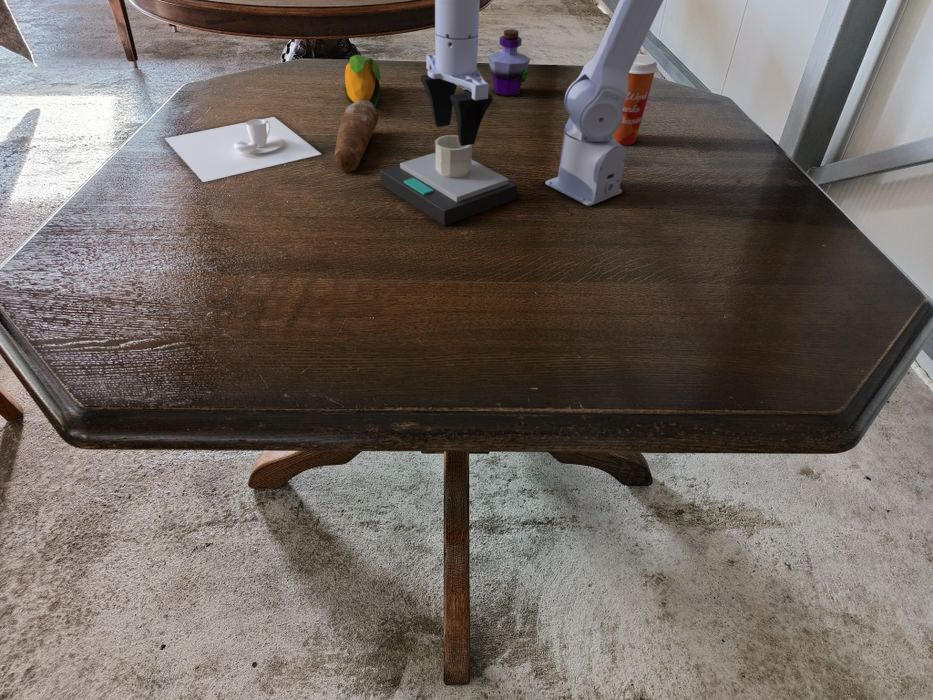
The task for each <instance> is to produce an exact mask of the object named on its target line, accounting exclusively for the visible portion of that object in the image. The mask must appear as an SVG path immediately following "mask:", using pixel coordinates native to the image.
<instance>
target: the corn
mask: <svg viewBox="0 0 933 700" xmlns="http://www.w3.org/2000/svg"><path fill="white" fill-rule="evenodd" d="M366 58H367V57H366V56H365V55H361V54H354V55H352V56H350V57H349V62H348V63H347V64H346V66H345V70H344V83H345V84H344V93H345V97H346V99H347V101H348V102H349V103H350V105H351V104H353V103H355V102H357V101H358V100H365V101H370V102H371V103H372V104H373V105H374V108H375V109H376V108H377V104H378V101H379V99H380V95H381V86H380V80H381V78H382V77H381V71H380V66H379V64H378V63H376V61H375V60H374V58H372V57H369V58H367V59H366Z"/></svg>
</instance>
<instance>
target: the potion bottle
mask: <svg viewBox="0 0 933 700" xmlns="http://www.w3.org/2000/svg"><path fill="white" fill-rule="evenodd" d="M519 35H520V34H519V30H517V29H512V28H511V29H504V30H503V35H502V36H500V37H499V45H500V46H501V47H502V51H498V52H497V51H496V52H493V53H492V54H490V55H488V56H487V57H488V65H489V70H490V74H491V77H492V83H493V93H494V94H495V95H497V96H501V97H506V98H508V97H517V96H518V95H519V94H520V93H521V92H520V91H521V87H522V84H523V83H525V81H526V80H527V77H528V73H529V71H528V69H529V64H530V62H531V58H530V57H528V56H527V55H526V54H524V53H520V52H518V48H519V47H521V46H522V39H523V38H521V37H520V36H519Z"/></svg>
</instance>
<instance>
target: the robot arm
mask: <svg viewBox="0 0 933 700" xmlns="http://www.w3.org/2000/svg"><path fill="white" fill-rule="evenodd" d="M663 2H664V0H618V2H617V5H616V7H615V9H614V12H613V14H612V16H611V19H610V21H609V23H608V26H607V28H606V29H605V32H604V35H603V36H602V39H601V42H600V43H599V46H598V48H597V50H596V52H595V55H594V57H593V58H592V59H591V60H590V61H588V62H587V63H586V64H585V65H584V66H583V67H582V70H581V72H580V74H579V76H578V77H577V78H576V79H575V80H574V81H573V82H572V83H571V84H570V85H569V86H568V88H567V89H566V92H565V95H564V108H565V110H566V112H567V113H568V115H569V116H568V120H567V122H566V123H565V126H564V130H563V139H562V144H561V145H562V146H561V151H560V152H561V153H560V160H559V168H558V176H555V177H553V178H550V179H547V180H545V185H546V186H548V187H550V188H552V189H554V190H555V191H558V192H560V193H561V194H564V196H565V195H566V196H567V197H569V198H571V199H573V200H575V201H576V202H579V203H581V204H582V205H585V206H586V207H591V206H593V205H596V204H598V203H600V202H603V201H605V200H608V199H610V198H613V197H615V196H617V195H620V194H622V192H623V190H622V189H621V184H622V179H623V175H624V169H625V164H626V159H627V151H626V148H625V147H624V145H621V144H619V143H618V142H617V141H616V140H615V139H614V137H613V134H614V133H615V132H616V131H617V129H618V128H619V126H620V124H621V121H622V114H623V105H624V102H625V100H626V98H627V96H628V73H629V71H630V69H631V67H632V65H633V63H634V61H635V59H636V56H637V54H639V52H640V50H641V48H642V46H643V44H644V42H645V40H646V38H647V35H648V34H649V31H650V29H651V27H652V25H653V23H654V21H655V19H656V17H657V14H658V13H659V11H660V8H661V6H662V4H663ZM479 22H480V0H434V45H435V46H434V51H435V52H434V53H433V54H432V53H431V54H426V56H425V57H426V58H425V61H426V62H425V63H426V65H425V66H426V67H425V68H426V70H427V74H423V75H420V81H421V84H422V85H423V87H424V89H425V92H426V95H427V96H428V100H429V103H430V104H429V105H430V108H431V113H432V117H433V122H434V125H435V127H436V128H443V127H448V126H450V124H451V122H452V115H453V114H452V113H453V110H454V114H455V118H456V125H457V127H456V128H457V135H458V139H459V143H460V145H461V146H466V145H472V146H473V145H475V142H476V139H477V136H478V132H479V129H480V126H481V123H482V120H483V118H484V116H485V115H486V112H487V111H488V109H489V107H491V104H492V103H493V99H494V98H493V95H492V94H491V93H489V86H490V85H489V83H488V82H487V81H486V80H485V79H484V77H483V76H482V74H481V72H480V70H479V68H478V49H479V47H478V46H479V26H480V25H479V24H480V23H479ZM457 87H458V88H460V89H462V90H463V93H456V90H457ZM455 93H456V94H455Z"/></svg>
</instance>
